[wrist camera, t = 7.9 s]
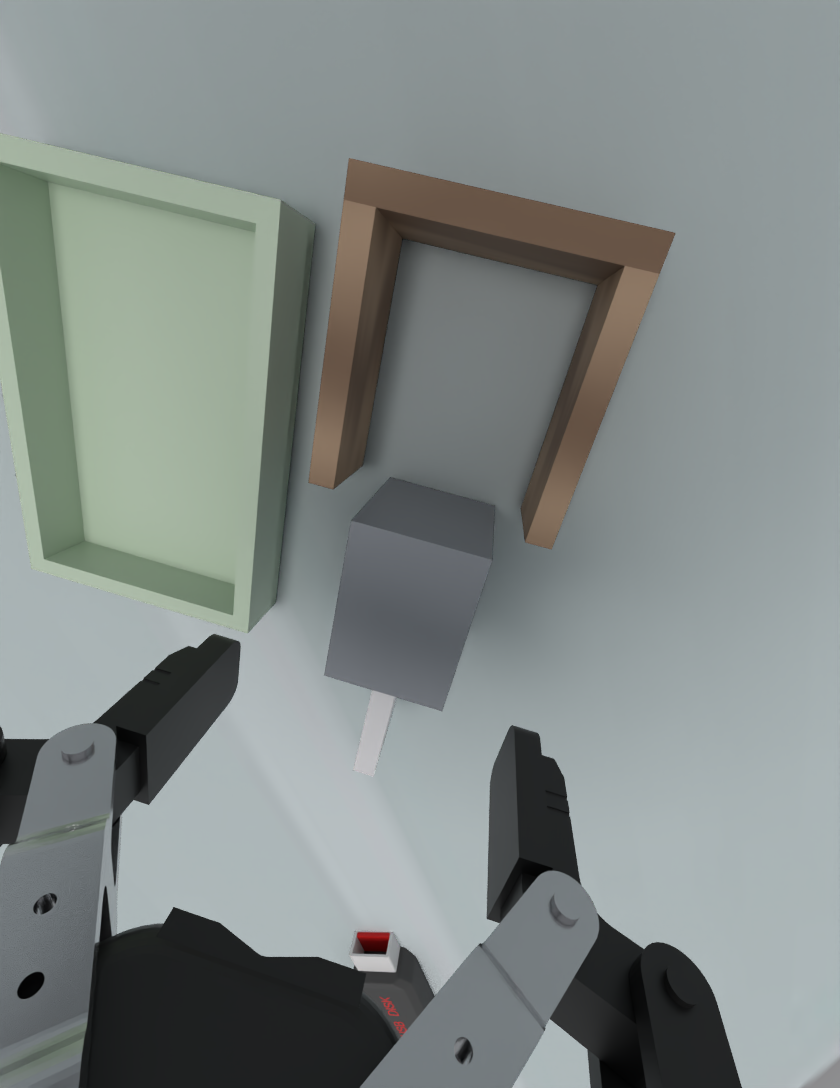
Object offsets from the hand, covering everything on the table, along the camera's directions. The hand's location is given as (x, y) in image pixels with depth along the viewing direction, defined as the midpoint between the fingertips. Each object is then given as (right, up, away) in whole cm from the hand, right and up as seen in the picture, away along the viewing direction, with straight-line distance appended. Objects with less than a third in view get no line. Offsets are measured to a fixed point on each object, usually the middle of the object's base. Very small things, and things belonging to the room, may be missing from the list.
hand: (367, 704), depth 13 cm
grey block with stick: (+1, +1, +11) cm, 11 cm away
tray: (-10, +11, +8) cm, 17 cm away
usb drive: (0, -32, +25) cm, 41 cm away
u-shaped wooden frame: (+4, +12, +6) cm, 13 cm away
